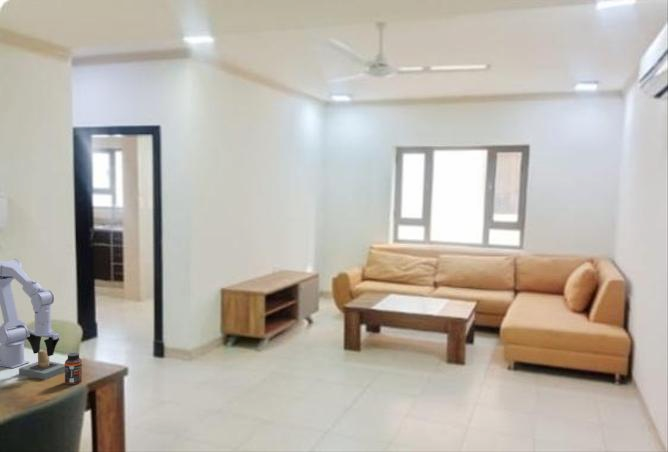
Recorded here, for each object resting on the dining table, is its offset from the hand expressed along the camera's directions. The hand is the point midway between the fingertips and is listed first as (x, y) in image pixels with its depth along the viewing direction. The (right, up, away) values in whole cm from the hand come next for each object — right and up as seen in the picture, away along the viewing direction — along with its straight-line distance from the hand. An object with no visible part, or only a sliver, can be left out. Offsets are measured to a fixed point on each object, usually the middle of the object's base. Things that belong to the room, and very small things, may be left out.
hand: (43, 354), depth 215 cm
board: (0, -8, +1) cm, 8 cm away
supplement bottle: (+17, -9, -9) cm, 21 cm away
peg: (0, -7, +1) cm, 7 cm away
